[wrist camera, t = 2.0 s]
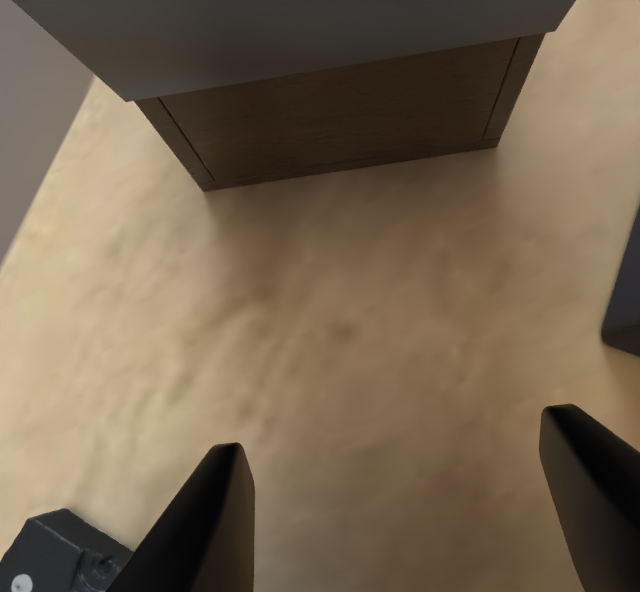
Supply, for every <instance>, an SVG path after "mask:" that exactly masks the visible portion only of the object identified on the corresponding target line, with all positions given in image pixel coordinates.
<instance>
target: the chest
mask: <svg viewBox="0 0 640 592" xmlns="http://www.w3.org/2000/svg"><path fill="white" fill-rule="evenodd" d="M545 34H546V33H541V34H535V35H529V36H523V37H517V38H511V39H505V40H499V41H493V42H487V43H481V44H475V45H469V46H462V47H456V48H450V49H444V50H438V51H432V52H426V53H420V54H414V55H408V56H402V57H396V58H390V59H384V60H378V61H372V62H365V63H359V64H353V65H347V66H341V67H335V68H329V69H323V70H317V71H311V72H305V73H299V74H293V75H287V76H281V77H274V78H268V79H262V80H256V81H250V82H244V83H238V84H232V85H226V86H220V87H214V88H208V89H202V90H196V91H190V92H184V93H177V94H171V95H165V96H159V97H153V98H147V99H141V100H135V101H134V102H135V103H136V104H137V106H138V107H139V108H140V110H141V111H142V112H143V114H144V115H145V116H146V117H147V119H148V120H149V121H150V123H151V124H152V125H153V127H154V128H155V129H156V131H157V132H158V133H159V134H160V136H161V137H162V138H163V140H164V141H165V142H166V144H167V145H168V146H169V148H170V149H171V150H172V151H173V153H174V154H175V155H176V157H177V158H178V159H179V161H180V162H181V163H182V165H183V166H184V167H185V168H186V170H187V171H188V172H189V174H190V175H191V176H192V178H193V179H194V180H195V182H196V183H197V184H198V186H199V187H200V188H201V190H202V191H210V190H216V189H223V188H229V187H236V186H243V185H249V184H256V183H262V182H269V181H276V180H282V179H289V178H295V177H302V176H309V175H315V174H322V173H329V172H335V171H342V170H348V169H355V168H362V167H368V166H375V165H381V164H388V163H395V162H401V161H408V160H414V159H421V158H428V157H434V156H441V155H447V154H454V153H461V152H467V151H474V150H481V149H487V148H494V147H497V145H498V143H499V141H500V139H501V136H502V133H503V131H504V129H505V126H506V124H507V122H508V119H509V117H510V115H511V113H512V110H513V108H514V106H515V103H516V101H517V99H518V96H519V94H520V92H521V89H522V87H523V85H524V82H525V80H526V78H527V75H528V73H529V71H530V69H531V66H532V64H533V62H534V59H535V57H536V55H537V52H538V50H539V48H540V45H541V43H542V41H543V38H544V36H545Z"/></svg>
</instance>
